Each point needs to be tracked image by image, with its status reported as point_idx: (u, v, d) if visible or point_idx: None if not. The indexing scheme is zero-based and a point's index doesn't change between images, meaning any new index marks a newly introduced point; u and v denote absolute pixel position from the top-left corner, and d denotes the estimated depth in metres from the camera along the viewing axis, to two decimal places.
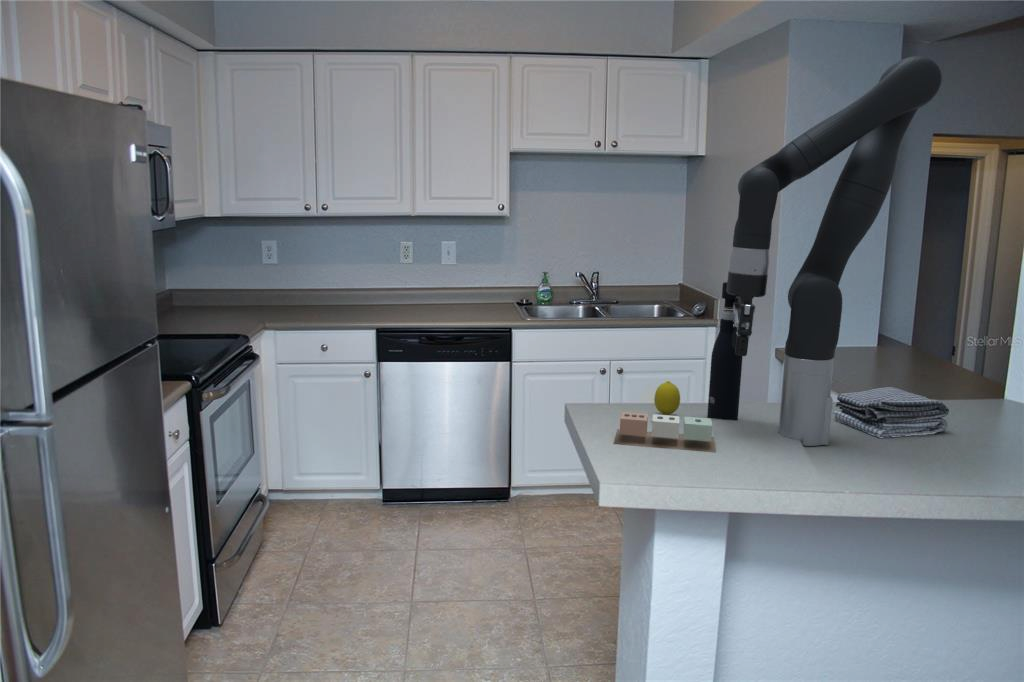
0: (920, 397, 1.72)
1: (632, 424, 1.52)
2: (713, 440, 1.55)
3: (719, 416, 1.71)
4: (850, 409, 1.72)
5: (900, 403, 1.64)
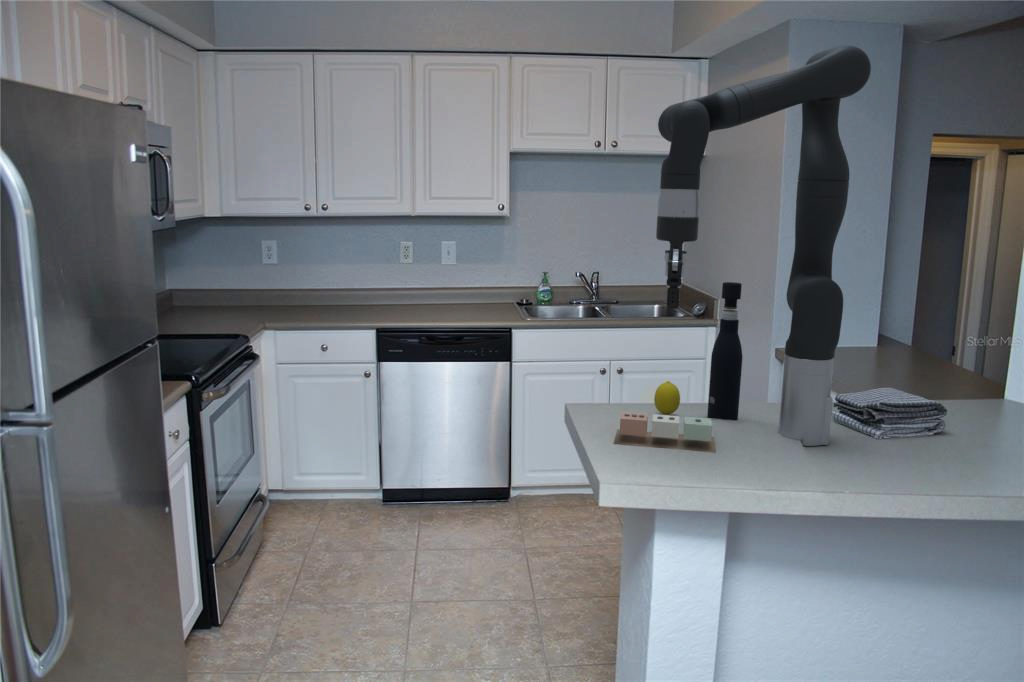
0: (918, 398, 1.71)
1: (632, 424, 1.52)
2: (713, 440, 1.55)
3: (719, 416, 1.71)
4: (848, 410, 1.71)
5: (898, 404, 1.64)
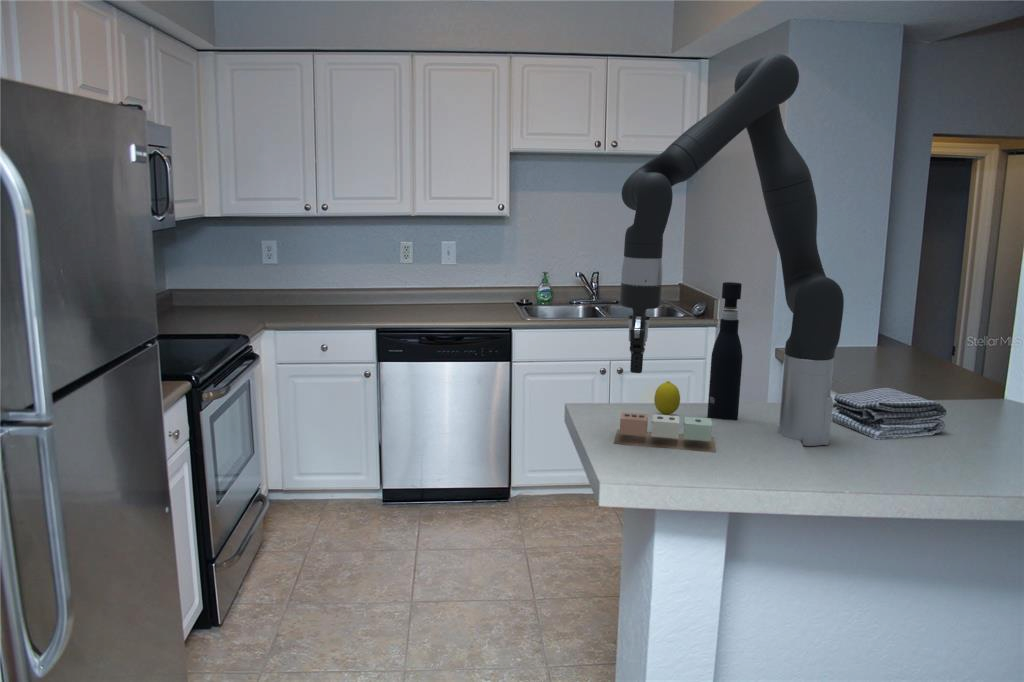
0: (917, 398, 1.71)
1: (632, 424, 1.52)
2: (713, 440, 1.55)
3: (719, 416, 1.71)
4: (847, 410, 1.71)
5: (897, 404, 1.63)
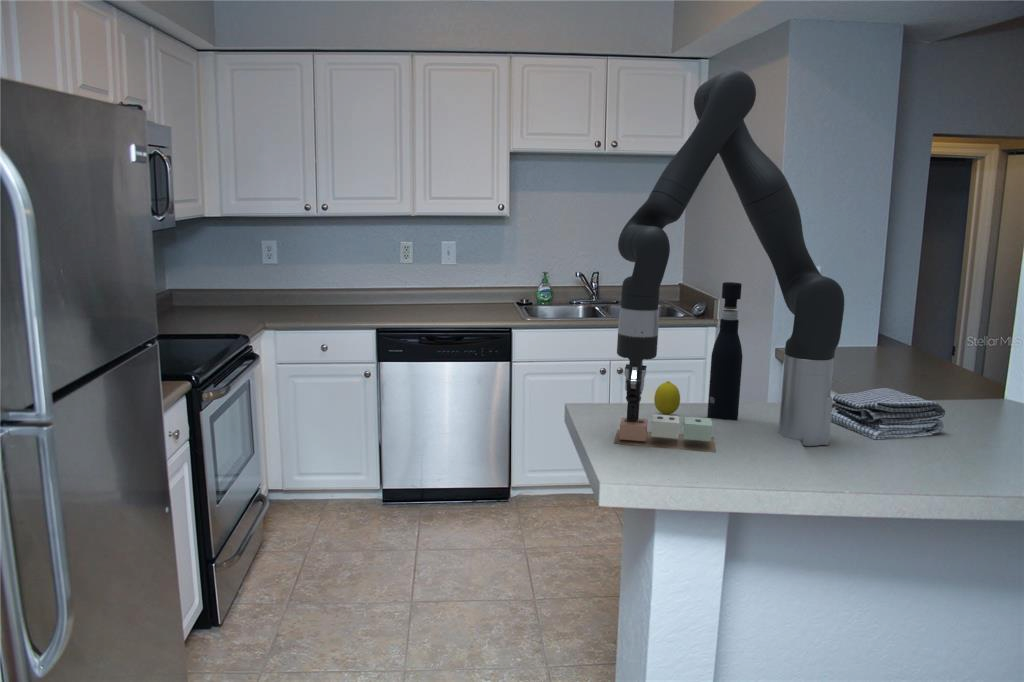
0: (916, 398, 1.71)
1: (632, 430, 1.52)
2: (713, 440, 1.55)
3: (719, 416, 1.71)
4: (846, 410, 1.71)
5: (896, 404, 1.63)
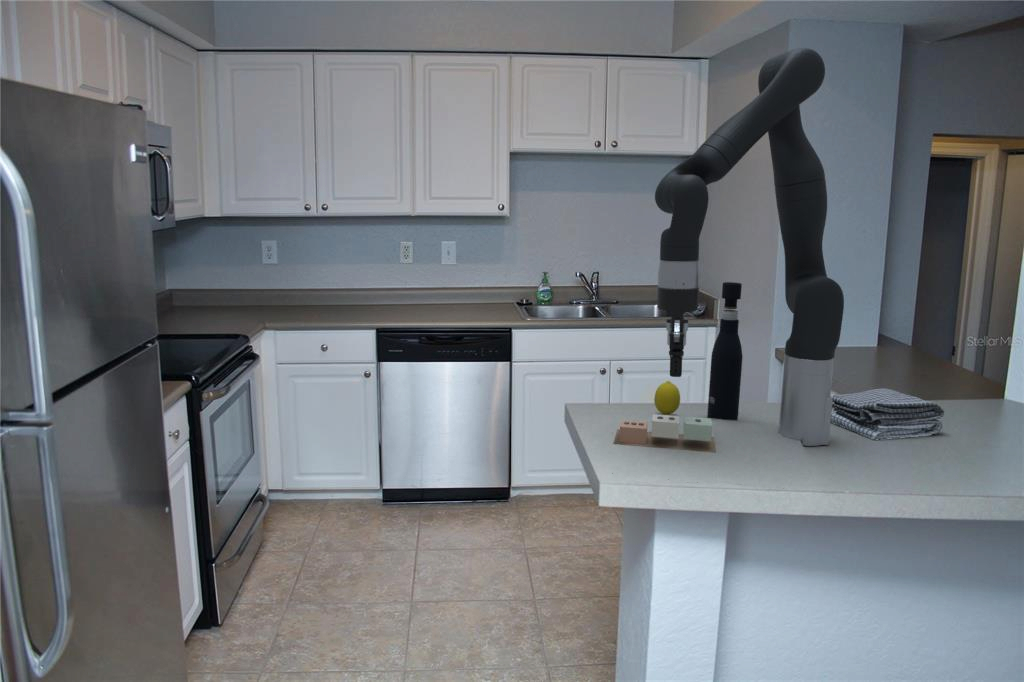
0: (915, 398, 1.70)
1: (632, 432, 1.52)
2: (713, 440, 1.55)
3: (719, 416, 1.71)
4: (845, 411, 1.71)
5: (895, 405, 1.63)
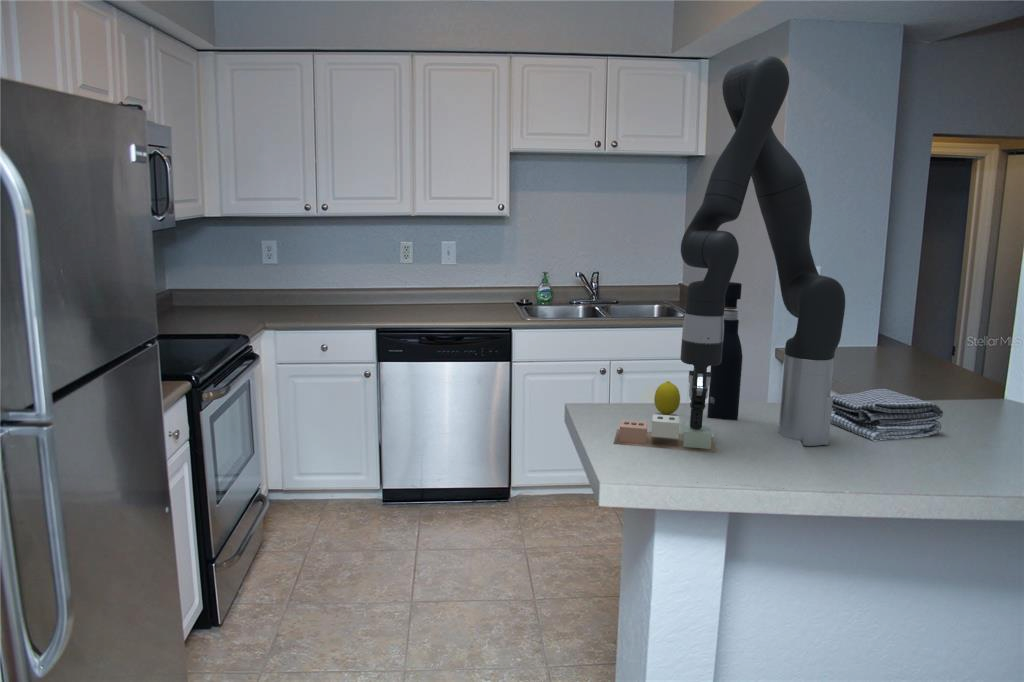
0: (914, 399, 1.70)
1: (632, 432, 1.52)
2: (713, 440, 1.55)
3: (719, 416, 1.71)
4: (843, 411, 1.70)
5: (894, 405, 1.62)
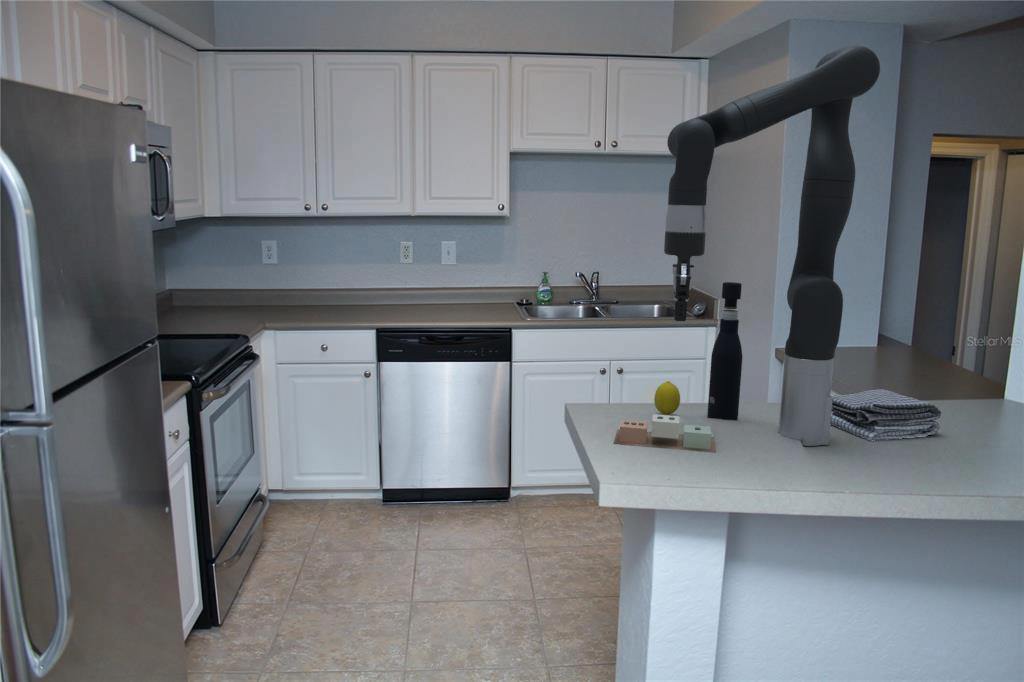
0: (912, 399, 1.69)
1: (632, 432, 1.52)
2: (713, 440, 1.55)
3: (719, 416, 1.71)
4: (841, 412, 1.70)
5: (892, 406, 1.62)
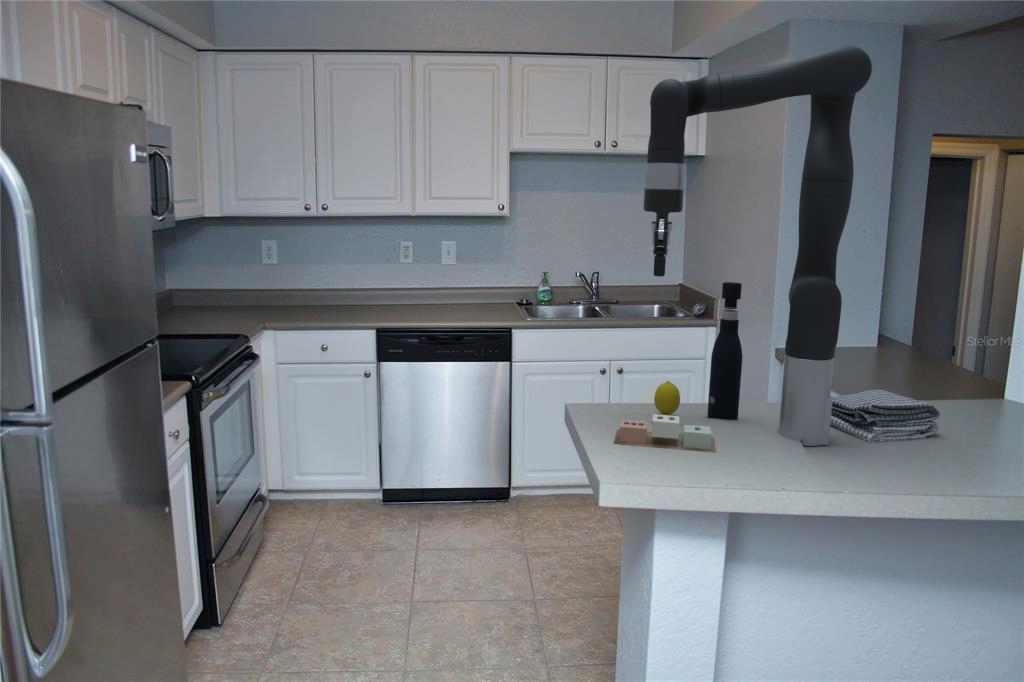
0: (910, 400, 1.69)
1: (632, 432, 1.52)
2: (713, 440, 1.55)
3: (719, 416, 1.71)
4: (840, 412, 1.69)
5: (890, 406, 1.62)
